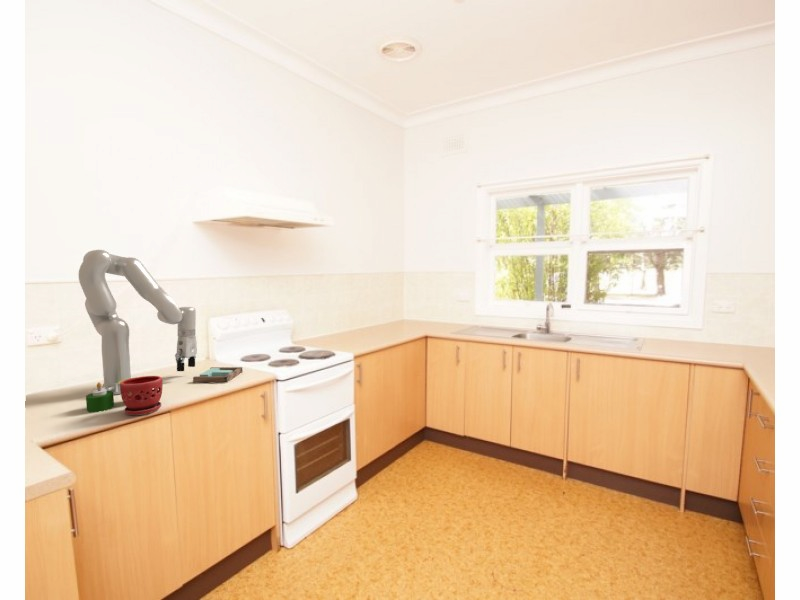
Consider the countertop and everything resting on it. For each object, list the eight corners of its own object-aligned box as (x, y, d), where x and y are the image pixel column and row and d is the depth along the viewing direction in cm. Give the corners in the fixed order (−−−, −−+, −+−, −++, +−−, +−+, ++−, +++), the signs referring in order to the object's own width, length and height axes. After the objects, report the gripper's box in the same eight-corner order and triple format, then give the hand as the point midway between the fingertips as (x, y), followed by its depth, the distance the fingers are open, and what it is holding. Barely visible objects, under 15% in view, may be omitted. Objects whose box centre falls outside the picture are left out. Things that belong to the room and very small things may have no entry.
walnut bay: (227, 382, 186) (226, 377, 186) (193, 382, 186) (193, 377, 186) (242, 372, 204) (242, 367, 204) (211, 372, 204) (211, 367, 204)
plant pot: (171, 407, 154) (170, 376, 153) (138, 419, 142) (136, 386, 141) (147, 403, 159) (146, 373, 158) (113, 414, 147) (111, 382, 146)
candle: (101, 412, 149) (100, 385, 148) (81, 412, 150) (79, 385, 149) (119, 404, 157) (117, 379, 156) (99, 404, 158) (97, 379, 157)
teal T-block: (225, 380, 189) (225, 374, 189) (199, 381, 189) (199, 374, 189) (236, 373, 201) (235, 368, 201) (211, 374, 201) (211, 368, 201)
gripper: (184, 335, 184) (184, 373, 185) (203, 331, 202) (203, 365, 202) (168, 335, 184) (167, 372, 185) (188, 330, 202) (187, 364, 202)
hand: (186, 368), depth 194 cm, fingers open, 9 cm apart
